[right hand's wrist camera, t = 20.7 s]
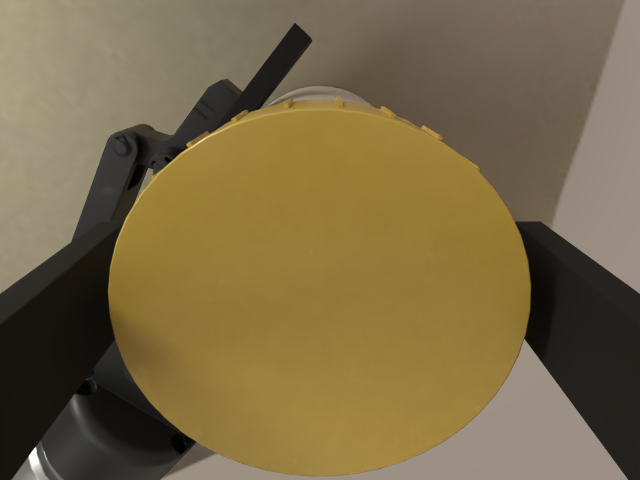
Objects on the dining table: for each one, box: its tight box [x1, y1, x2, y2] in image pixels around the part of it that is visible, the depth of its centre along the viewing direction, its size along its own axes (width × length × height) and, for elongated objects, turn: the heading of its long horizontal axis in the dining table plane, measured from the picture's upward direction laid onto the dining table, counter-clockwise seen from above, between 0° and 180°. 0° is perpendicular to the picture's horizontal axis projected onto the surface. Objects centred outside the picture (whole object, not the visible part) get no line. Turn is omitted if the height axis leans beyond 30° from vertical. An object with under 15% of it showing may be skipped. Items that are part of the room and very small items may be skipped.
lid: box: [108, 97, 531, 476], centre depth 11 cm, size 10×10×2 cm
